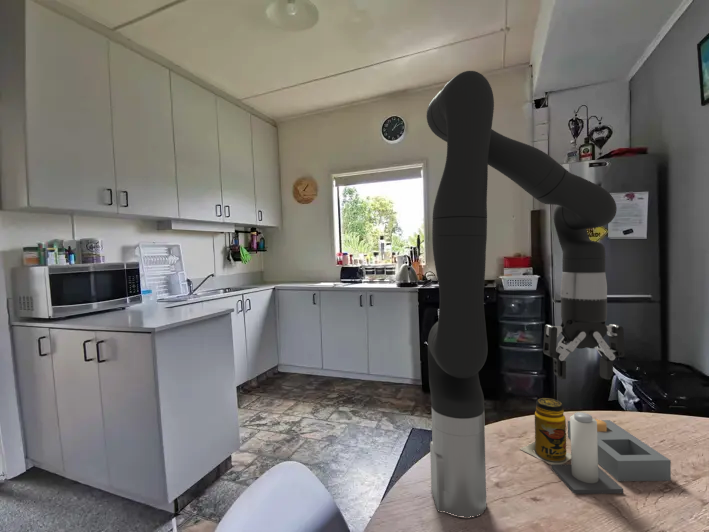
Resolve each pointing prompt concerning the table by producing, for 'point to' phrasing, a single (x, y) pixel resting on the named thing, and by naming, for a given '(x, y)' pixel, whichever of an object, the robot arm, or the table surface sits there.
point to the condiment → (549, 433)
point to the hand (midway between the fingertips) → (583, 378)
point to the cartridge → (584, 447)
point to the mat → (579, 487)
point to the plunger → (601, 426)
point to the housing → (629, 456)
